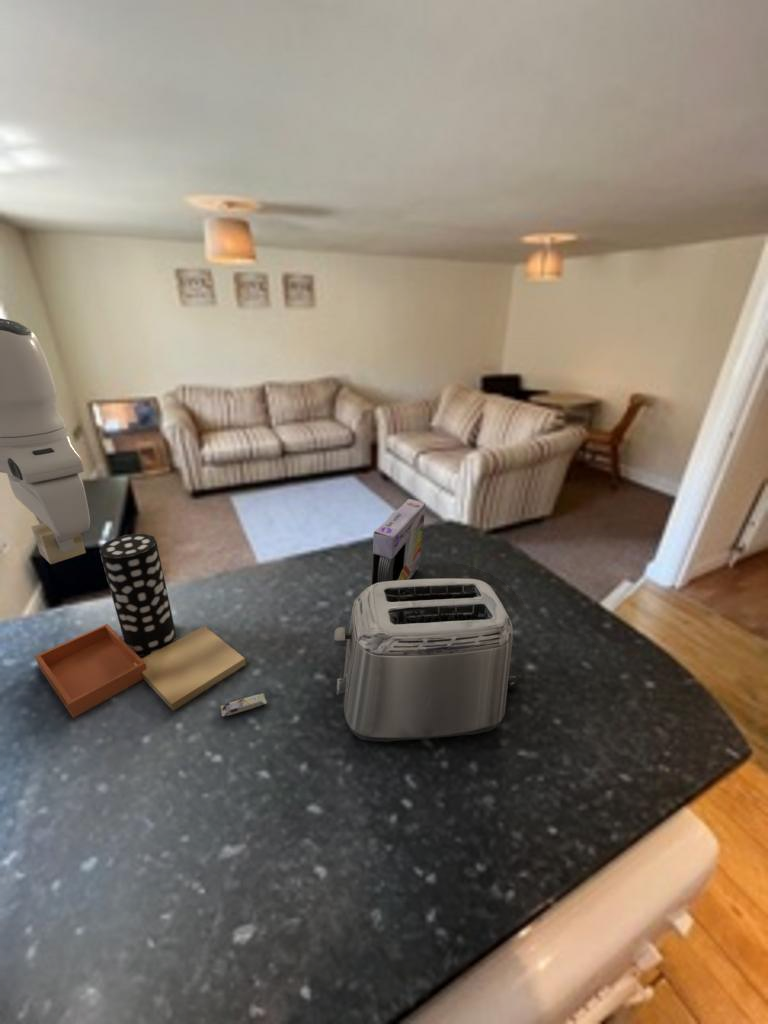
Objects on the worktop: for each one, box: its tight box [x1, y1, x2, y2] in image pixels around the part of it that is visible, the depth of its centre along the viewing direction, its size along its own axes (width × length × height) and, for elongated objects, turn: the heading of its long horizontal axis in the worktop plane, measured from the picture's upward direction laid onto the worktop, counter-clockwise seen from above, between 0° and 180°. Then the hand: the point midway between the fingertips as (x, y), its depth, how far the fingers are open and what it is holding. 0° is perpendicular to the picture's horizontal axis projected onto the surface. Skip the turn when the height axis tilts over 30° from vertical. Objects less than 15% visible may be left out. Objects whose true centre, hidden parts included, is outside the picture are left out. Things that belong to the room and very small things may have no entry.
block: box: [31, 523, 87, 565], centre depth 65 cm, size 4×4×4 cm
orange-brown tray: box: [34, 623, 147, 719], centre depth 74 cm, size 15×11×3 cm
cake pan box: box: [370, 498, 427, 586], centre depth 97 cm, size 19×5×18 cm, turn 155°
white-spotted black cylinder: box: [99, 533, 177, 657], centre depth 78 cm, size 8×8×20 cm
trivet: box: [133, 625, 247, 712], centre depth 76 cm, size 13×13×2 cm
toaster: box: [333, 578, 517, 743], centre depth 68 cm, size 17×30×19 cm, turn 95°
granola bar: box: [219, 692, 268, 717], centre depth 69 cm, size 7×2×1 cm, turn 113°
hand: (59, 542), depth 65 cm, fingers closed on block, 4 cm apart
